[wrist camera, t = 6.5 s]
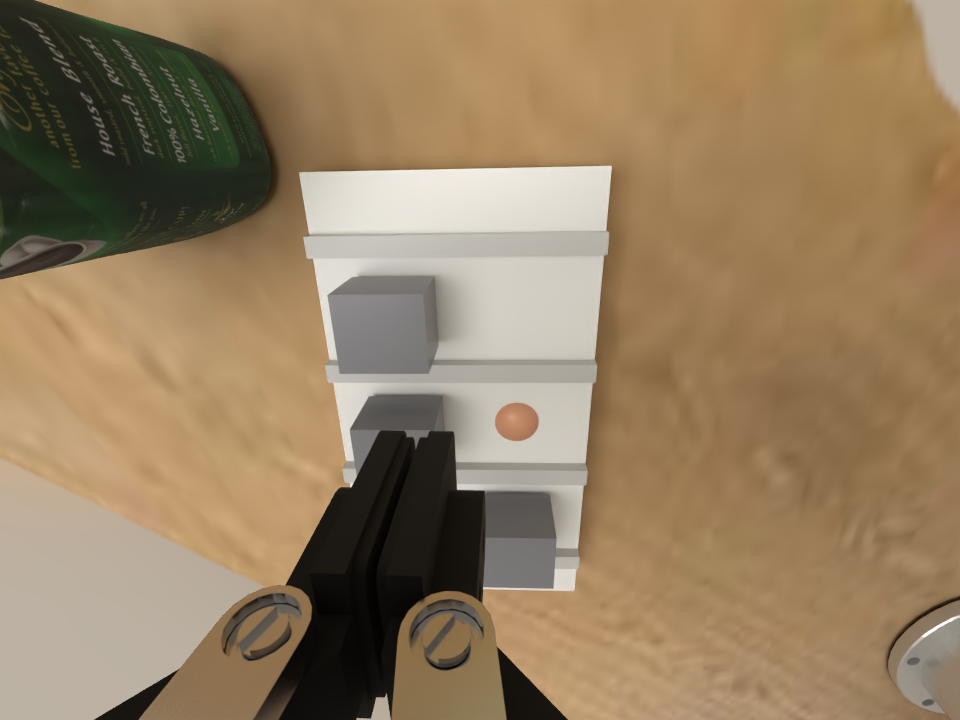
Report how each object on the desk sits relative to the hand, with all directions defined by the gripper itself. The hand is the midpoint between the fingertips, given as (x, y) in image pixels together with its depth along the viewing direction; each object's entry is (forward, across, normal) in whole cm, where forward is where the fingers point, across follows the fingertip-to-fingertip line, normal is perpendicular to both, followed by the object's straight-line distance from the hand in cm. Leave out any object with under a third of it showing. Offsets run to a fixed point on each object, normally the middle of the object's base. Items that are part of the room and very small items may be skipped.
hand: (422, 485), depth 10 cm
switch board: (+16, 0, +6) cm, 17 cm away
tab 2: (+13, +3, +6) cm, 15 cm away
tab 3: (+13, -3, +13) cm, 18 cm away
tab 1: (+13, +4, 0) cm, 13 cm away
